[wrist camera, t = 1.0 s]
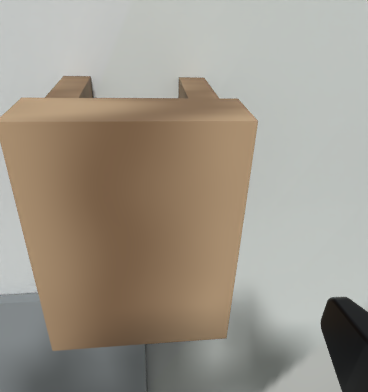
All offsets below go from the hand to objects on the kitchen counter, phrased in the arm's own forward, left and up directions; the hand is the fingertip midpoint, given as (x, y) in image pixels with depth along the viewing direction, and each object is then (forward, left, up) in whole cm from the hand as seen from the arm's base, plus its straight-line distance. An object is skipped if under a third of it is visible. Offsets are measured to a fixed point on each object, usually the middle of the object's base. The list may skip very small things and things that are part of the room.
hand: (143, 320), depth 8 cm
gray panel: (+6, +13, -9) cm, 17 cm away
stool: (0, 0, -9) cm, 9 cm away
